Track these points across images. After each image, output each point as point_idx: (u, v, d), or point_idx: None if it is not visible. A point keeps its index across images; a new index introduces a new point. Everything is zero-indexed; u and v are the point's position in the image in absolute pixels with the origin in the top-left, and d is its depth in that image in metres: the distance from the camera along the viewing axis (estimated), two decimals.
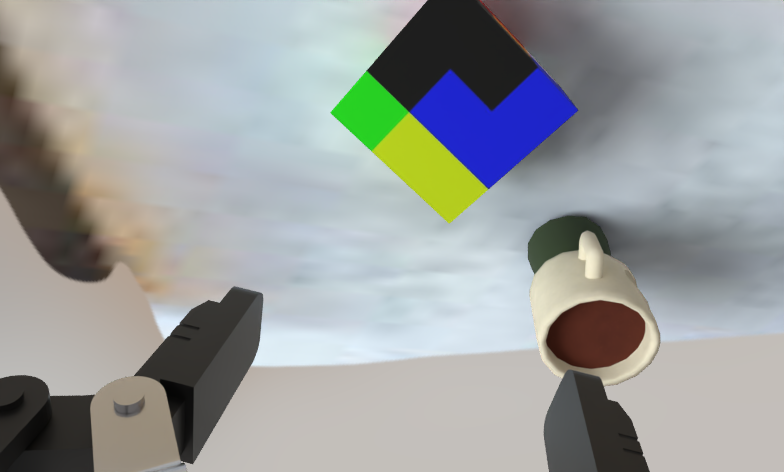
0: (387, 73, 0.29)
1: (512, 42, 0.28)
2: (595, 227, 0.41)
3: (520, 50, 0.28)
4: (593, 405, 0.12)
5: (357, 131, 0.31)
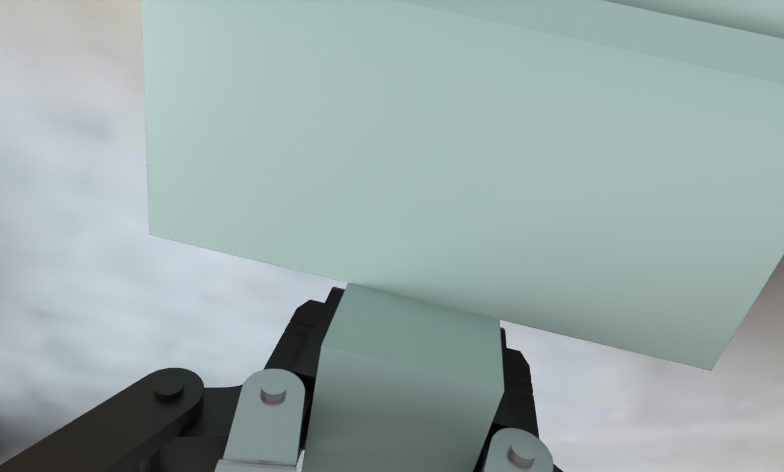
0: None
1: None
2: None
3: None
4: None
5: None
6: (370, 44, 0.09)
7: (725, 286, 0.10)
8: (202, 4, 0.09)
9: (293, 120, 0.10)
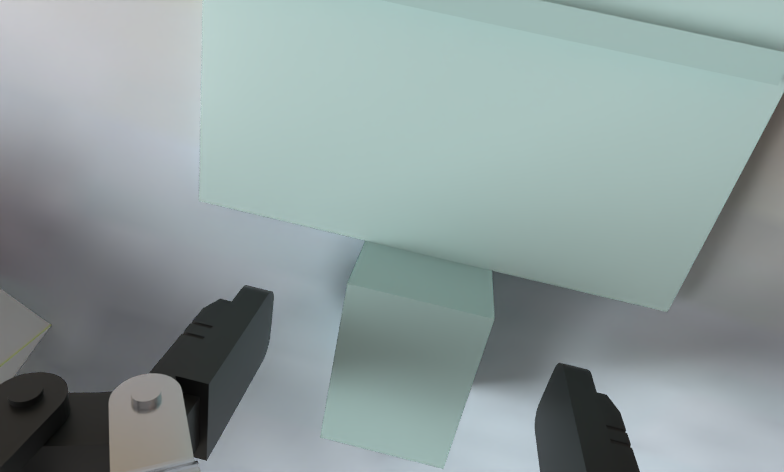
0: None
1: None
2: None
3: None
4: (582, 397, 0.12)
5: None
6: (387, 41, 0.11)
7: (675, 239, 0.12)
8: (252, 9, 0.12)
9: (323, 103, 0.12)
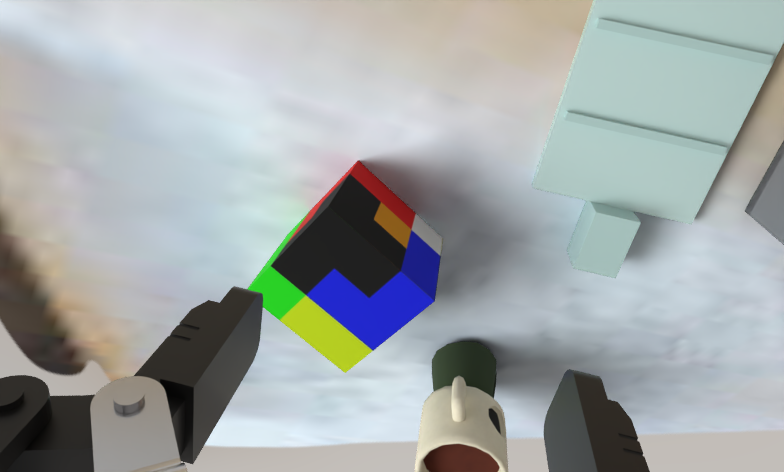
0: (286, 268, 0.37)
1: (379, 253, 0.36)
2: (484, 352, 0.48)
3: (386, 259, 0.36)
4: (593, 405, 0.12)
5: (267, 306, 0.39)
6: (609, 140, 0.39)
7: (694, 199, 0.40)
8: (568, 130, 0.39)
9: (585, 157, 0.40)
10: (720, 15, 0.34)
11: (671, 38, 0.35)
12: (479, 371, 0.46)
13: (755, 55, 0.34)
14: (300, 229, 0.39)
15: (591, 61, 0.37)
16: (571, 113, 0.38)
